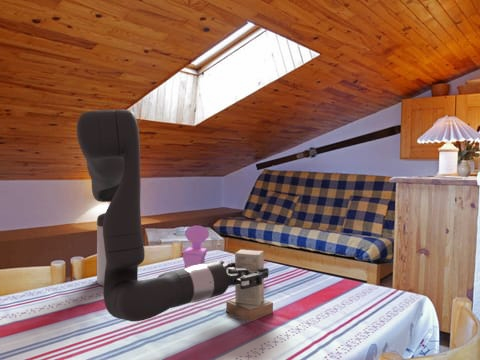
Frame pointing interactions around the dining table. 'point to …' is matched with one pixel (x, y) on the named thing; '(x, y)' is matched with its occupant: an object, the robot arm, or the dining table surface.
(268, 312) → the wooden framed mirror
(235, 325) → the dining table surface
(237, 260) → the skincare box
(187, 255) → the toy chair
